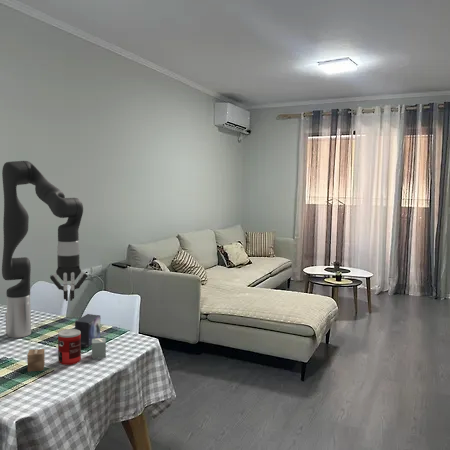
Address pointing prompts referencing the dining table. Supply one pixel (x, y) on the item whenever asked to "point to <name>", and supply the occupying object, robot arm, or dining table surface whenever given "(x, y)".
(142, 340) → the dining table surface
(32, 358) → the walnut digit block
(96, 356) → the slate digit block
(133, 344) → the dining table surface
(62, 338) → the canned food
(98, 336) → the small box
